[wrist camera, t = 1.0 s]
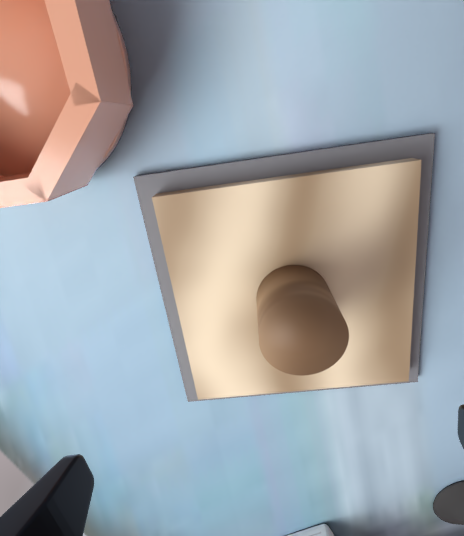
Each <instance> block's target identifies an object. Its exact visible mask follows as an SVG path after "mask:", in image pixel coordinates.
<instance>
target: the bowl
mask: <svg viewBox="0 0 464 536" xmlns="http://www.w3.org/2000/svg"><path fill="white" fill-rule="evenodd" d="M132 107H133V102H132V98H131V73H130V66H129V59H128V53H127V50H126V46H125V43H124V39H123V36H122V33H121V31H120V28H119V26H118V23H117V21H116V18H115V16H114V14H113V12H112V10H111V5H110V1H109V0H0V208H4V207H11V206H18V205H25V204H32V203H39V202H47V201H50V200H52V199H55V198H57V197H60V196H62V195H65V194H67V193H70V192H72V191H75V190H77V189H79V188H82V187H84V186H87V185H88V183H89V182H90V180H91V178H92V176H93V175H94V173H95V171H96V170H97V168H98V167H100V166H101V165H102V164H103V163H104V161H105V160H106V159H107V158H108V157H109V156H110V154H111V153H112V151H113V150H114V148H115V147H116V145H117V143H118V141H119V139H120V137H121V135H122V133H123V130H124V127H125V124H126V121H127V118H128V114H129V112H130V111H131V109H132Z"/></svg>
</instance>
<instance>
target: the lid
mask: <svg viewBox="0 0 464 536" xmlns="http://www.w3.org/2000/svg"><path fill="white" fill-rule="evenodd" d="M421 161H422V160H420V159H415V158H408V159H401V160H394V161H386V162H379V163H372V164H365V165H358V166H351V167H344V168H336V169H329V170H322V171H315V172H308V173H301V174H294V175H286V176H279V177H272V178H265V179H258V180H251V181H243V182H236V183H229V184H222V185H215V186H208V187H201V188H193V189H186V190H179V191H172V192H165V193H158V194H155V195H154V196H153V197H152V201H153V205H154V209H155V214H156V218H157V223H158V227H159V231H160V236H161V240H162V244H163V249H164V253H165V257H166V262H167V266H168V271H169V275H170V279H171V284H172V288H173V292H174V297H175V301H176V305H177V310H178V314H179V319H180V323H181V327H182V332H183V336H184V340H185V345H186V349H187V354H188V358H189V362H190V367H191V371H192V375H193V380H194V384H195V388H196V393H197V397H198V400H200V399H212V398H223V397H235V396H246V395H258V394H269V393H281V392H292V391H304V390H315V389H327V388H338V387H350V386H361V385H373V384H384V383H396V382H407V381H409V369H410V352H411V335H412V317H413V300H414V282H415V265H416V248H417V230H418V213H419V196H420V178H421Z"/></svg>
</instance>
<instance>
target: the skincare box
mask: <svg viewBox="0 0 464 536" xmlns="http://www.w3.org/2000/svg"><path fill="white" fill-rule="evenodd" d="M287 536H334V534H333V533H332V531H331V529H330V528H329V527H328V525H326V524H321V525H318V526H314V527H311V528H308V529H305V530H302V531H299V532H296V533H293V534H290V535H287Z"/></svg>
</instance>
